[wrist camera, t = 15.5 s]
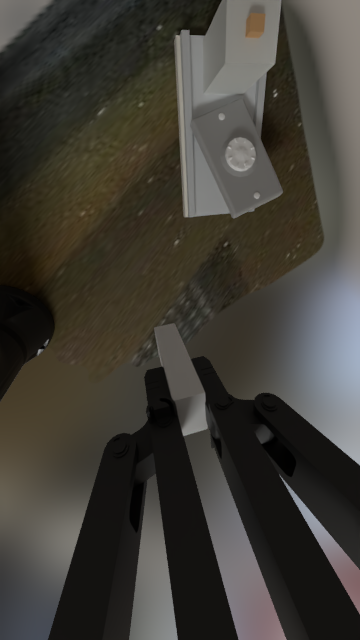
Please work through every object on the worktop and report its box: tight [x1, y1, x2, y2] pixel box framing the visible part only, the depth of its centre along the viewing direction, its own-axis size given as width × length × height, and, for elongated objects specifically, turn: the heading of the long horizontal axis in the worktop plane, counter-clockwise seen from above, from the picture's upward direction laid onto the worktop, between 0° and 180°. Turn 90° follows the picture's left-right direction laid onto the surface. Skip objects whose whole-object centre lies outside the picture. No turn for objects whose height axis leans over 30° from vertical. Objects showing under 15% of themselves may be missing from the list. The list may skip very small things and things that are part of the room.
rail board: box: [174, 0, 281, 217], centre depth 30 cm, size 13×21×10 cm, turn 4°
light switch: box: [190, 98, 283, 218], centre depth 33 cm, size 8×6×14 cm
